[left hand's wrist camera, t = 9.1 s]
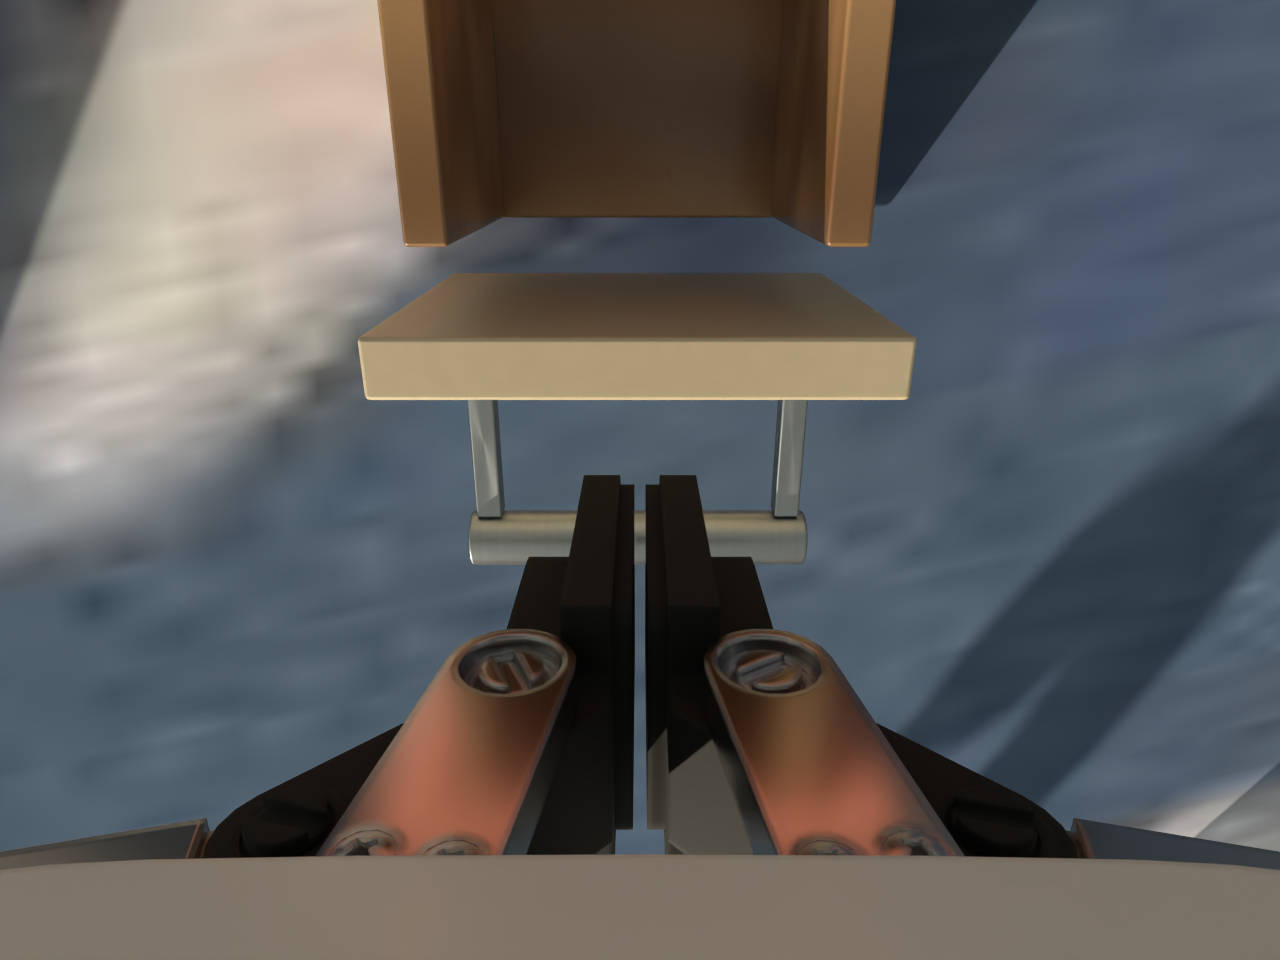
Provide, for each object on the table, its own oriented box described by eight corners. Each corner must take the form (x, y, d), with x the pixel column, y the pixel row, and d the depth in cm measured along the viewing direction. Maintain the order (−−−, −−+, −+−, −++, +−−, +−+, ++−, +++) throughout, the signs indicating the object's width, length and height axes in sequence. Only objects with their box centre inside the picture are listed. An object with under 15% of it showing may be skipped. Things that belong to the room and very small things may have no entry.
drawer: (805, 490, 25) (878, 641, 17) (470, 490, 25) (396, 641, 17) (903, -659, 15) (1154, -1426, 8) (371, -659, 15) (115, -1427, 8)
